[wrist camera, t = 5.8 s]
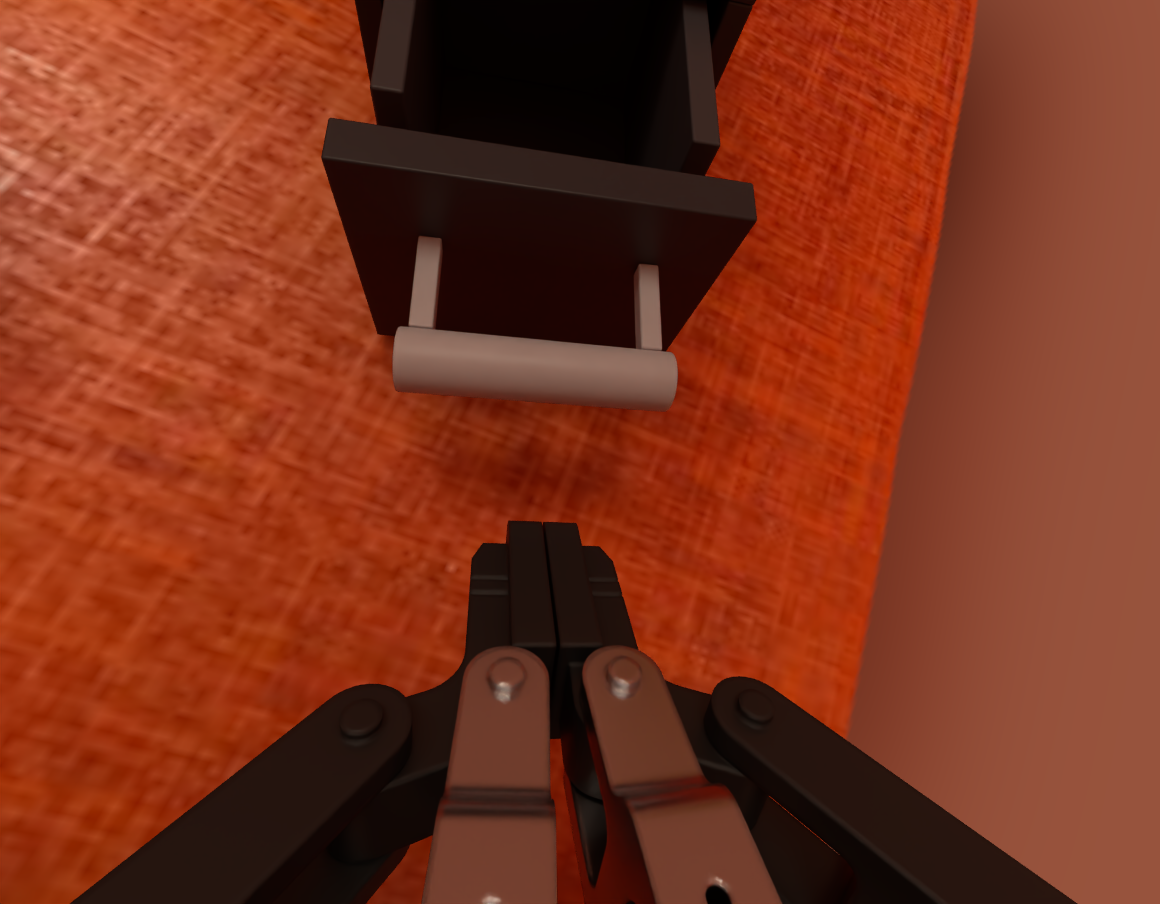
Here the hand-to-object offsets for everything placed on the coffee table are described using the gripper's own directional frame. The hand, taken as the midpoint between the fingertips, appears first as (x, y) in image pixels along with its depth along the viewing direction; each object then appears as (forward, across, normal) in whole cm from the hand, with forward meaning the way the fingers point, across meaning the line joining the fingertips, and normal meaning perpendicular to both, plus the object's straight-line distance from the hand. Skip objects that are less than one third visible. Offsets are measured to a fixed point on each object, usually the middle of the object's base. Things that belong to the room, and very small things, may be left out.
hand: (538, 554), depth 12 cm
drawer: (+13, 0, +5) cm, 14 cm away
